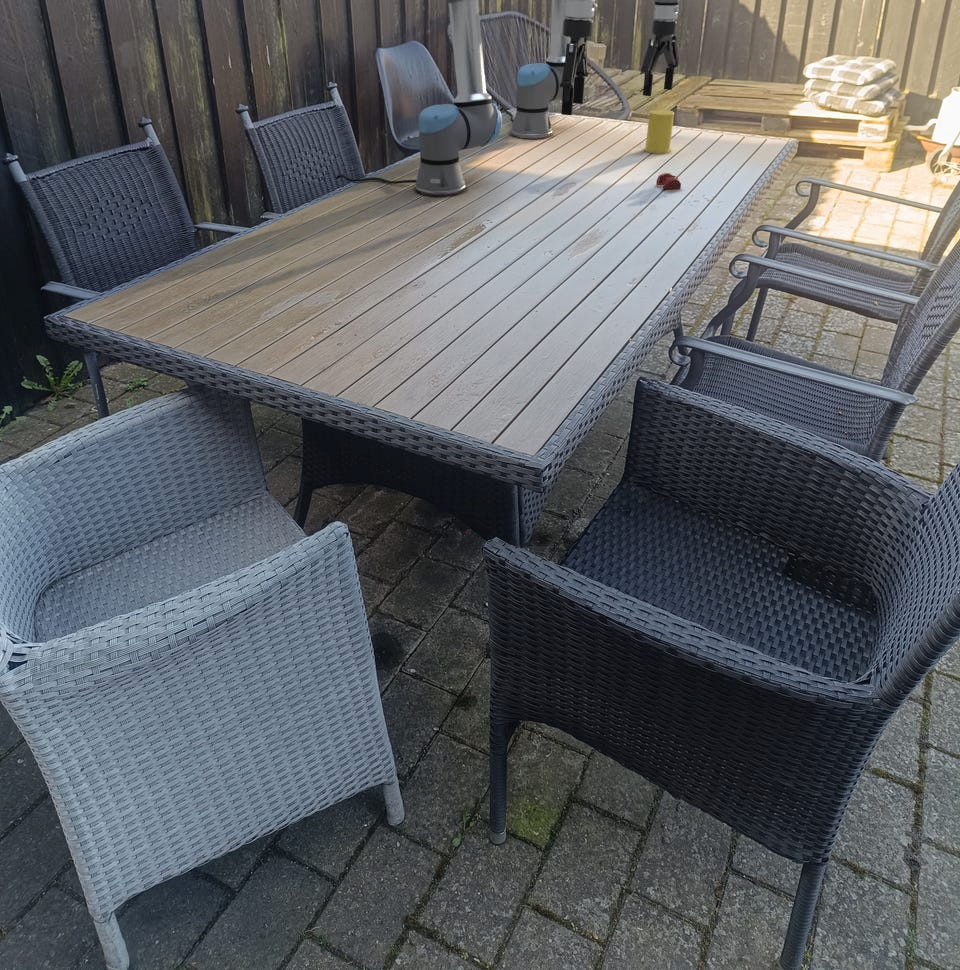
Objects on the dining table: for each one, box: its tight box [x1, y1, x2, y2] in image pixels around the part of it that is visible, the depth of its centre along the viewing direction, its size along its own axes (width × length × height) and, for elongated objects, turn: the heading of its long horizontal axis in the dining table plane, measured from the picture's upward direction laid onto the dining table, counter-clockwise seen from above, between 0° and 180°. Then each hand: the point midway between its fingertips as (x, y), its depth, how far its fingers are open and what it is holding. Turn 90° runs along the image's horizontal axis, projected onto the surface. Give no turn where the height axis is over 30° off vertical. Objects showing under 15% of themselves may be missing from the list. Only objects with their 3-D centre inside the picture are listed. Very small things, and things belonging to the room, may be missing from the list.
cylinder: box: [645, 109, 675, 155], centre depth 292 cm, size 8×8×13 cm
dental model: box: [655, 172, 682, 192], centre depth 259 cm, size 6×4×8 cm
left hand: (572, 109), depth 223 cm, fingers open, 13 cm apart
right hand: (657, 92), depth 280 cm, fingers open, 13 cm apart
